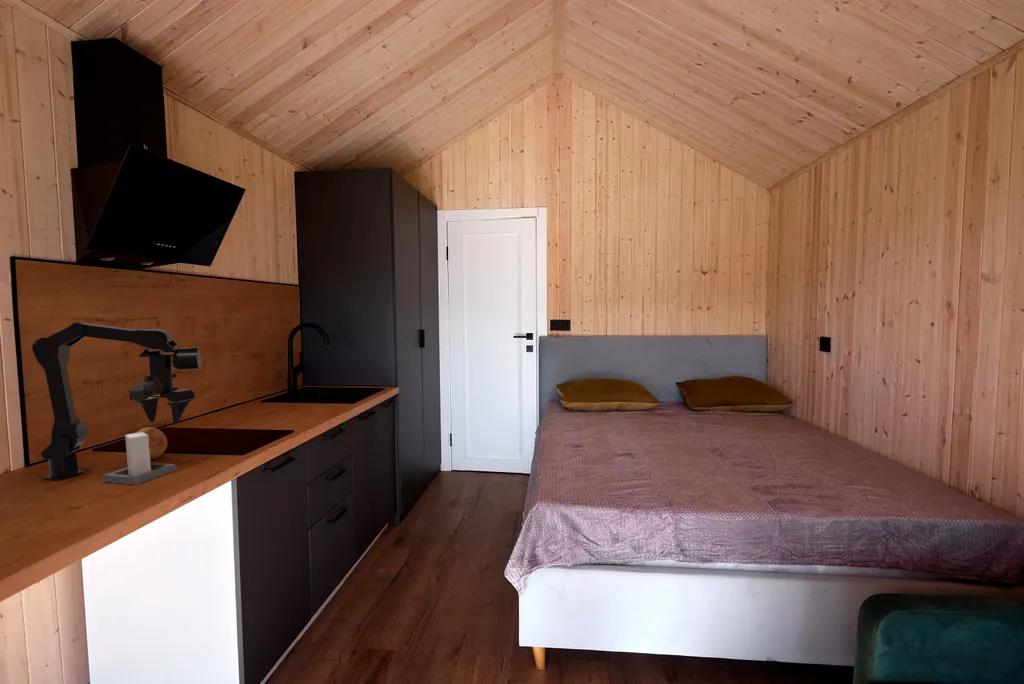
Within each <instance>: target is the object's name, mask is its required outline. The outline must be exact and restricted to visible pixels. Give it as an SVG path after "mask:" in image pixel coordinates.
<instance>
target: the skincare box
mask: <svg viewBox="0 0 1024 684" xmlns="http://www.w3.org/2000/svg"><path fill="white" fill-rule="evenodd" d="M124 438H125V447H126V460H127V467H128V475H134V476H138V475H141V474H143V473H146V472H149V471H151V465H150V462H151V459H150V452H149V439H148V435H147V434H145V433H143V432H139V433H136V432H135V433H128V434H125V437H124Z"/></svg>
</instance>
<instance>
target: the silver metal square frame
mask: <svg viewBox="0 0 1024 684" xmlns="http://www.w3.org/2000/svg"><path fill="white" fill-rule="evenodd" d="M150 465H151V470H152V471H149V472H146V473H143V474H141V475H138V476H134V475H128V466H127V467H124V468H121V469H118V470H115V471H112V472H109V473H106V474H103V475H102V476H103V477H102V478H103V482H104V483H105V482H111V483H110V484H116V483H121V484H120V485H127V484H135V485H134V486H138V485H137V484H139V485H141V484H140V483H142V482H144V483H146V482H145V481H147V482H149V481H148V480H150V479H152V480H154V479H153V478H155V479H157V478H156V477H158V476H160V477H162V476H161V475H163V474H166V473H169V472H171V471H174V470H175V471H176V464H175V463H167V462H166V463H163V462H153V461H150ZM175 471H174V472H175ZM171 473H172V472H171ZM169 474H170V473H169ZM166 475H167V474H166ZM163 476H164V475H163ZM158 478H159V477H158ZM150 481H151V480H150ZM142 484H143V483H142Z"/></svg>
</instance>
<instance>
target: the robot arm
mask: <svg viewBox="0 0 1024 684" xmlns="http://www.w3.org/2000/svg"><path fill="white" fill-rule="evenodd" d="M85 337H87V338H93V339H94V338H95V339H102V340H103V339H104V340H110V341H119V342H126V343H127V342H128V343H132V344H135V345H136V346H137V345H138V346H141V347H144V348H145V349H144V350H143V351H142V352H141V353H140V354H138V357H139V358H147V364H148V375H144V381H143V382H141V383H138V384H137V385H134V386H132V387H130V388H129V389H128V392H129V393H128V396H129V400H132V401H133V402H134V403H136V404H138V405H140V406H141V407H142V409H143V412H144V413H145V415H146V417H147V419H148V420H149V423H154V422H155V421H156V420H155V419H156V417H157V411H158V405H159V404H158V403H159V398H164V399H165V398H166V400H167V401H168V402H166V404H167V405H168V406H169V407H170V408H171V414H172V421H173V424H174V425H177V424H179V423H180V421H181V418H182V416H183V414H184V412H185V410H186V408H187V406H188V405H189V403H190V402H192V401H193V400H194V399H196V393H195V390H193V389H187V388H182V389H178V386H174V378H176V377H177V373H173V368H174V369H177V371H195V370H196V371H197V370H201V369H202V367H203V358H202V356H201V352H200V347H198V346H195V347H185V348H183V347H181V346H180V345H178V344H177V342H175V340H174V339H173V335H172V333H171V332H170V331H169V330H167V329H164V328H148V329H147V328H145V329H144V328H142V329H141V328H140V329H135V328H134V329H133V328H127V327H121V326H120V327H119V326H111V325H104V324H97V323H91V322H90V323H89V322H86V321H79V322H78V321H77V322H73V323H72V324H71V325H69V326H68V327H66V328H63V329H62V330H60V331H57V332H55V333H53V334H51V335H49V336H47V337H46V336H45V337H40V338H37V339H36V340H35V341H34V342H33V343H32V344H31V351H32V353H33V355H34V357H35V359H36V362H37V363H38V364H39V366H40V367H41V368H42V370H43V371H44V374H45V381H46V385H47V391H48V395H49V399H50V404H51V410H52V415H53V424H52V427H51V431H50V444H48V446H46V447H45V449H44V450H42V452H40V455H41V457H42V459H43V460H44V461H47V463H48V464H47V465H48V471H49V473H48V475H45V476H43V478H46V479H45V480H53V479H55V481H56V480H57V481H61V479H62V480H64V478H65V479H68V478H71V477H74V476H77V474H78V475H81V474H83V472H84V473H85V470H81V469H79V462H78V455H77V453H76V452H77V451H78V450H80V447H81V445H82V444H83V443H84V442H85V441H86V440H87V439H88V434H90V430H88V421H87V419H83V420H80V418H78V416H77V413H76V409H75V404H74V399H73V395H72V388H71V384H70V378H69V373H68V372H69V371H68V364H69V360H70V357H71V356H70V355H71V347H73V346H74V345H75V344H77V343H79V342H80V341H81V340H83V339H84V338H85ZM151 349H152V350H151ZM80 473H81V474H80ZM73 475H74V476H73ZM70 476H71V477H70ZM67 477H68V478H67ZM43 478H42V479H43Z"/></svg>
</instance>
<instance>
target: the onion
mask: <svg viewBox="0 0 1024 684" xmlns="http://www.w3.org/2000/svg"><path fill="white" fill-rule="evenodd" d="M139 432H143V433H145V434H147V435H148V439H149V452H150V460H155V459H157V458H158V457H160V456H161V455H162V454H163V453H164V452H166V451H165V450H166V449H167V447H168V438H167V437H166V435H165V433H164V432H162V431H161V430H160V429H157V428H155V427H143V428H141V429H139V430H138V431H136V432H135V433H139Z"/></svg>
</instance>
